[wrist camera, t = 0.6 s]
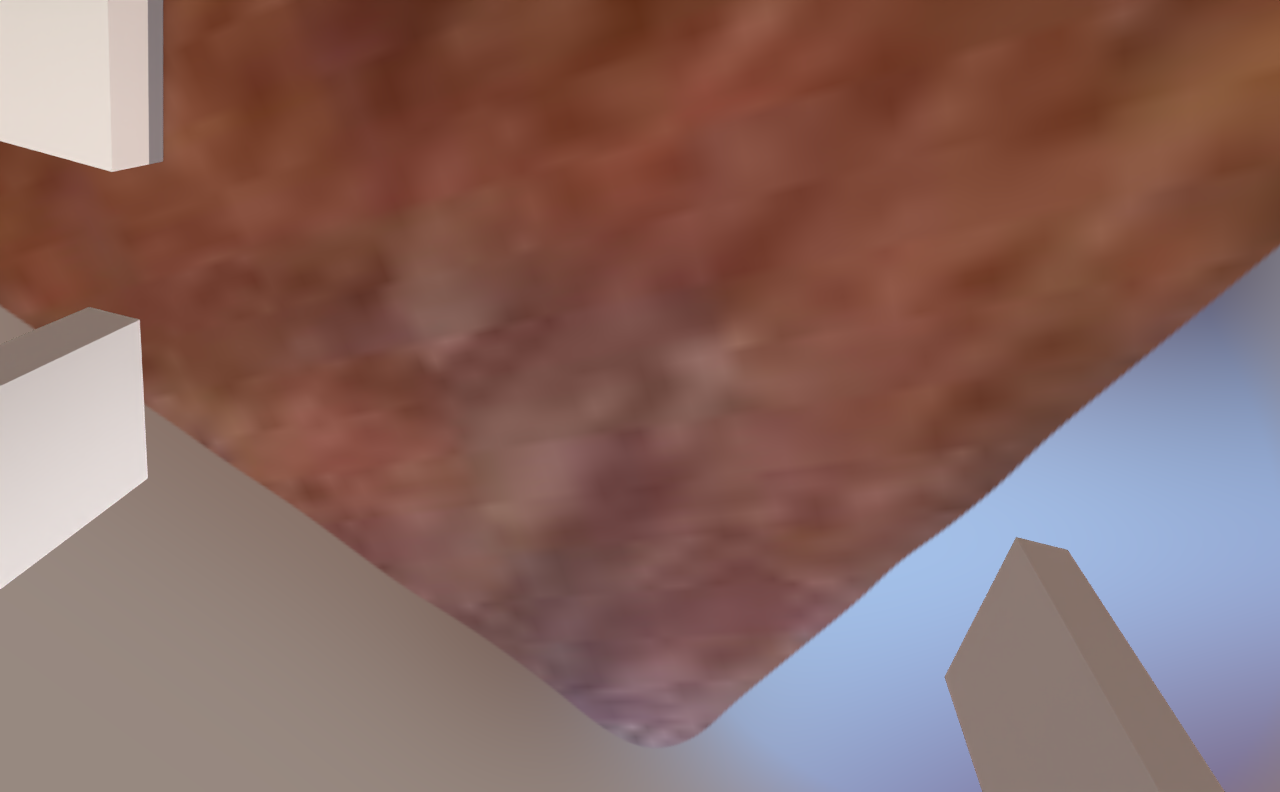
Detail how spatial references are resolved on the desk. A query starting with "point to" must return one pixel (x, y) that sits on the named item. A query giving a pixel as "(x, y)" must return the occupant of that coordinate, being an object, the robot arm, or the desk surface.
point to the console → (83, 80)
